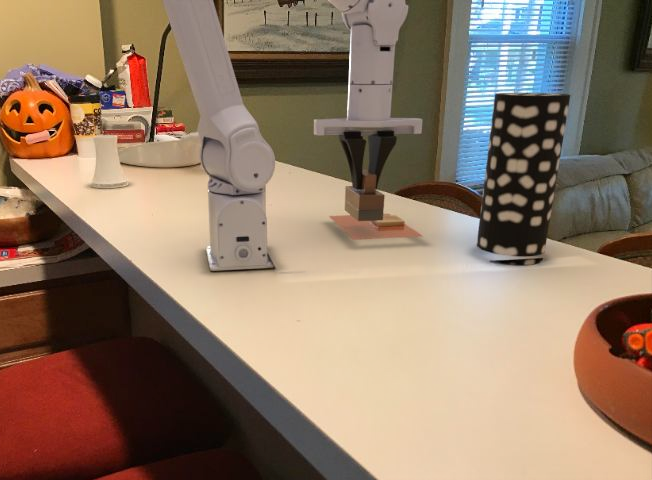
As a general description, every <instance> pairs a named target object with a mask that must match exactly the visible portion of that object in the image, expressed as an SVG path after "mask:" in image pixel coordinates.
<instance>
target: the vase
mask: <svg viewBox="0 0 652 480" xmlns="http://www.w3.org/2000/svg"><path fill="white" fill-rule="evenodd" d="M92 138H93V139H92V140H93V143H94V148H95V166H94V167H95V168H94V174H93V178H92V179H91V180H90V182H91V185H90V187H92V188H95V189H96V188H97V189H115V188H122V187H127V186H128V185H129V182H128V181H129V179H128V178H127V177H126V175H125V173H124V170H123V167H122V165H121V162H120V161H119V157H118V150H119V149H118V135H116V134H98V135H97V134H96V135H93V136H92Z"/></svg>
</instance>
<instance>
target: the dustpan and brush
mask: <svg viewBox="0 0 652 480" xmlns="http://www.w3.org/2000/svg"><path fill="white" fill-rule="evenodd" d="M153 137H154V139H155V140H156V141H150V142H143V143H138V144H134V145H133V144H132V145H128V146H126V147H122V148H119V149H117V150H118V157H119V161H120V163H123V164H127V165H130V166H131V165H132V166H138V167H145V168H165V169H166V168H169V169H171V168H182V167H190V166H195V165H198V164H201V163H200V148H201V143H200V137H199V134H198V131H197V130H196V131H193V132H191V133H187V134H182V135H181V137H180V138H178V137H175V136H172V135H169V134H164V133H163V134H155V135H154V136H153Z"/></svg>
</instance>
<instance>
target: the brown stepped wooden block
mask: <svg viewBox="0 0 652 480" xmlns="http://www.w3.org/2000/svg"><path fill="white" fill-rule="evenodd" d="M385 195H386V194H384V193H382V192H381V191H379V190H377V189H376V175H375V174H373V173H371V172H369V171H368V170H367V169H366V168H365V169H364V168H362V187H361V189H359V190H357V189H355V188H353V187H352V185H345V189H344V211H345V212H346V213H347V214H348V215H351V216H353V217H354V218H355V219H356V220H358V221H376V220H383V214H384V209H385Z"/></svg>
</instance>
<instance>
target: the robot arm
mask: <svg viewBox="0 0 652 480" xmlns="http://www.w3.org/2000/svg"><path fill="white" fill-rule="evenodd" d="M161 1H162V4H163V8H164V10H165V13H166V16H167V19H168V22H169V25H170V28H171V31H172V35H173V37H174V40H175V44H176V46H177V49H178V53H179V56H180V59H181V62H182V64H183V69H184V72H185V73H186V76H187V79H188V80H187V81H188V83H189V86H190V89H191V92H192V95H193V98H194V101H195V104H196V107H197V110H198V114H199V121H198V124H197V129H196V132H197V131H198V134H199V137H200V143H201V148H200V163H199V164H200V165H201V168H202V171H204V173H205V174H206V175H207V176H208V177H209V179H208V181H207V202H208V203H207V205H208V225H209V229H208V230H209V246H206V247H205V253H206V257H207V261H208V266H209V270H210V271H213V272H215V271H216V272H218V271H234V270H238V271H239V270H255V269H257V270H258V269H272V268H275V267H276V265H275V263H274V262H273V260H272V257H271V255H270V254H269V252H268V219H267V190H266V188H267V185H268V183H269V182H270V181H271V179H272V177H273V176H274V173H275V170H276V169H275V168H276V157H275V153H274V151H273V148H272V147H271V145H270V144H269V143H268V142H267V141H266V140H265V139H264V137H263V136H262V134H261V131H260V127H259V124H258V122H257V121H256V119H255V118H254V117H253V115H252V114H251V113H250V111H249V110H248V109H247V108H246V106H245V105H244V102H243V98H242V94H241V92H240V91H241V90H240V89H239V84H238V81H237V78H236V74H235V71H234V68H233V63H232V61H231V57H230V53H229V50H228V47H227V43H226V40H225V37H224V34H223V29H222V26H221V23H220V20H219V16H218V12H217V9H216V6H215V3H214V0H161ZM327 2H329V3H330V4H331V5H332V6H333V7H335V8H336V9H337V10H338V11H339V12H341V17H342V21H343V23H344V25H345V27H346V29H347V30H350V41H349V42H350V43H349V46H350V47H349V65H348V66H349V68H348V89H347V90H348V91H347V109H346V111H347V112H346V117H344V118H343V117H342V118H341V117H340V118H318V119H317V118H315V119H313V135H315V136H325V135H326V136H328V135H329V136H333V135H335V136H337V135H338V140H339V143H340V145H341V146H342V147H341V148H342V150H343V151H344V154H345V157H346V160H347V165H348V167H349V172H350V178H351V186H352V187H353V188H355V189H357V190H359V189H361V187H362V169H363V167H364V165H363V164H364V159H365V158H364V157H365V152H366V151H365V150H366V146H367V142H368V168H367V169H368V170H367V171H369V172H371V173H373V174H375V175H376V190H377V189H378V185H379V181H380V178H381V176H382V172H383V170H384V166H385V164H386V162H387V160H388V158H389V156H390V154H391V152H392V151H393V149H394V147H395V146H396V144H397V139H398V136H396V135H395V134H398V135H399V134H400V135H401V134H413V135H422V133H423V122H424V121H423V118H419V117H391V112H392V100H393V83H394V68H395V55H396V53H395V52H396V44H397V41H399V34H400V29H401V27H402V26H403V24H404V22H405V20H406V19H407V16H408V13H409V5H408V4H406V0H327ZM357 128H379V129H357ZM363 135H368V136H367V140H368V141H367V140H366V139H365V138H364V136H363Z"/></svg>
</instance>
